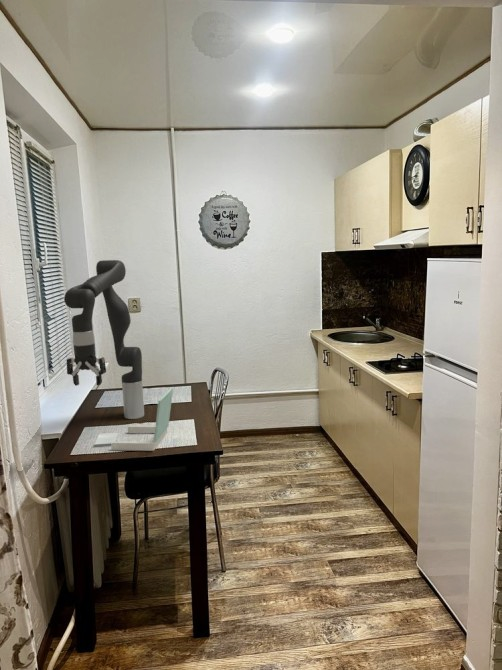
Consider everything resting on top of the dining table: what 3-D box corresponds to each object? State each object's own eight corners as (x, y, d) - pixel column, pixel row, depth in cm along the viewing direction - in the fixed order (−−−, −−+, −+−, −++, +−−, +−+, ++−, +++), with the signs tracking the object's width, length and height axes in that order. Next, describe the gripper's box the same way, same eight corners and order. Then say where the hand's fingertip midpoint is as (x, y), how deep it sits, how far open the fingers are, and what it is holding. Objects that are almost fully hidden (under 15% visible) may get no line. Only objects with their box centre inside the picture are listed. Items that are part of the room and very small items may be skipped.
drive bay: (128, 432, 208) (128, 425, 208) (167, 432, 206) (167, 426, 206) (111, 450, 190) (111, 442, 189) (153, 450, 188) (153, 443, 187)
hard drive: (114, 443, 194) (118, 432, 206) (93, 444, 193) (98, 433, 205) (114, 447, 194) (118, 435, 206) (93, 448, 193) (99, 437, 205)
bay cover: (171, 387, 202) (173, 387, 202) (166, 425, 205) (168, 426, 205) (158, 400, 184) (160, 400, 184) (153, 442, 188) (155, 442, 188)
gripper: (106, 340, 183) (109, 382, 186) (70, 341, 184) (74, 382, 187) (98, 344, 175) (102, 387, 178) (60, 345, 177) (65, 387, 180)
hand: (87, 385), depth 183 cm, fingers open, 8 cm apart
